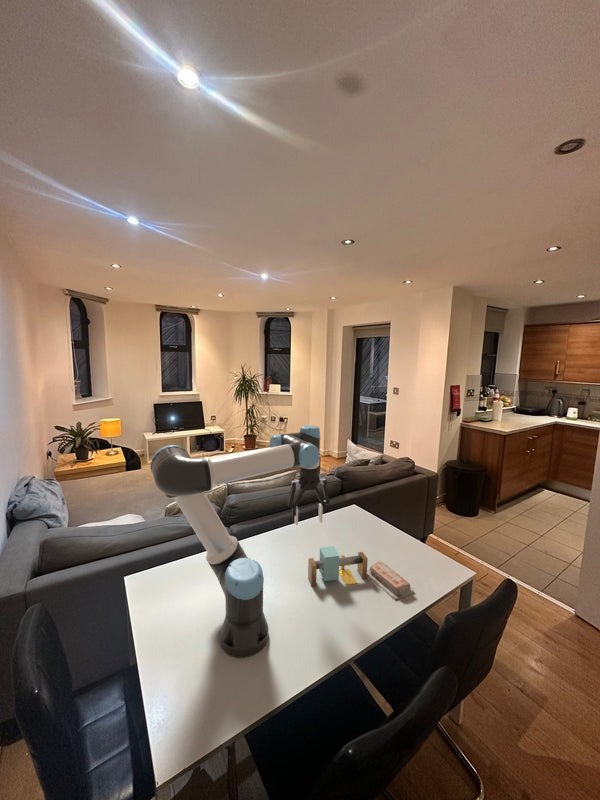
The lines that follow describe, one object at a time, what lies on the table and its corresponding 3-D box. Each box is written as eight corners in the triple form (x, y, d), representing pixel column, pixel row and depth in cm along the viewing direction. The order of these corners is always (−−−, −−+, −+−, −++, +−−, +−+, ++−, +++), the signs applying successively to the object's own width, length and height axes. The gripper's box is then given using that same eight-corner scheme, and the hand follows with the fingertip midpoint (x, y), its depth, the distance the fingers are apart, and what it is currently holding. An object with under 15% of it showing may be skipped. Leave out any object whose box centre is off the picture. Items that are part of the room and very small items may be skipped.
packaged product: (415, 581, 126) (395, 589, 121) (414, 593, 127) (395, 601, 122) (382, 556, 142) (364, 563, 137) (382, 567, 142) (364, 574, 138)
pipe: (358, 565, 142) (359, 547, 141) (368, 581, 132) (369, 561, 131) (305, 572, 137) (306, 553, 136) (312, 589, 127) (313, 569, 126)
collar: (333, 568, 137) (333, 546, 136) (338, 579, 130) (339, 555, 129) (319, 570, 135) (319, 547, 134) (324, 581, 129) (324, 557, 128)
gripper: (333, 461, 132) (331, 515, 134) (279, 464, 127) (279, 520, 129) (339, 467, 124) (338, 523, 127) (283, 470, 119) (282, 529, 122)
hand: (308, 522), depth 128 cm, fingers open, 9 cm apart
